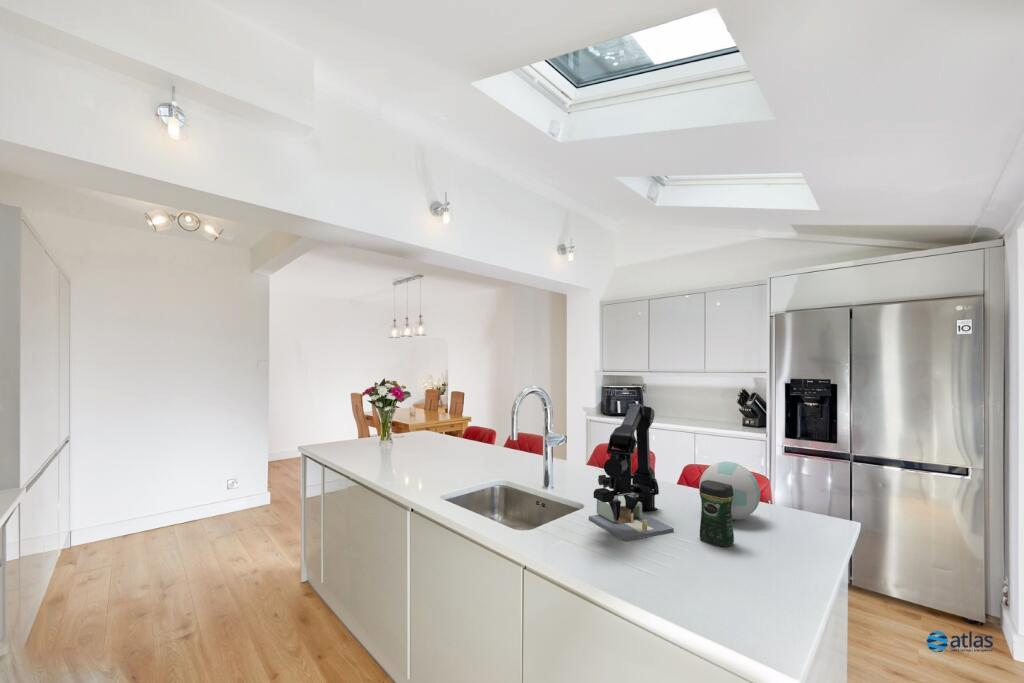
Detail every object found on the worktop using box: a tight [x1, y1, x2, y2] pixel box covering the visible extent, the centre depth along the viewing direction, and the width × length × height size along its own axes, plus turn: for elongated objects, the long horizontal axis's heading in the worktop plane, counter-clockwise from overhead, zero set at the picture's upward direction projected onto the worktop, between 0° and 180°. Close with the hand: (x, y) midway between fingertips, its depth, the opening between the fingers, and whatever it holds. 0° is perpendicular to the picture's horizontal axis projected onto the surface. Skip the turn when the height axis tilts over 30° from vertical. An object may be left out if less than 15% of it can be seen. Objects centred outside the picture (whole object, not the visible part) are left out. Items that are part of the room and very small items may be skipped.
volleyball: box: [698, 461, 761, 521], centre depth 165 cm, size 20×20×20 cm
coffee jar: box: [698, 480, 735, 547], centre depth 143 cm, size 10×8×19 cm
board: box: [588, 512, 675, 542], centre depth 155 cm, size 20×20×4 cm
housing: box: [596, 496, 643, 522], centre depth 163 cm, size 12×14×5 cm
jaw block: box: [613, 506, 631, 524], centre depth 147 cm, size 4×4×4 cm
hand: (621, 519), depth 147 cm, fingers closed on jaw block, 4 cm apart
